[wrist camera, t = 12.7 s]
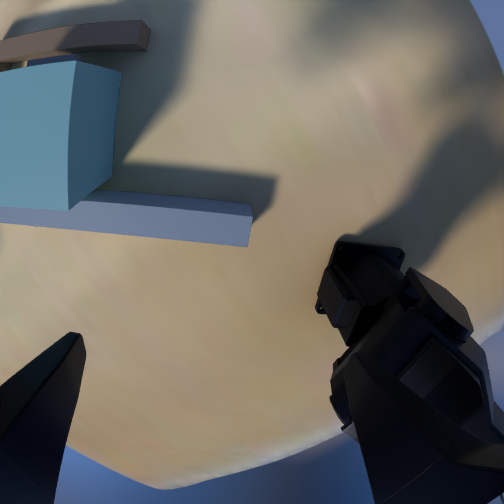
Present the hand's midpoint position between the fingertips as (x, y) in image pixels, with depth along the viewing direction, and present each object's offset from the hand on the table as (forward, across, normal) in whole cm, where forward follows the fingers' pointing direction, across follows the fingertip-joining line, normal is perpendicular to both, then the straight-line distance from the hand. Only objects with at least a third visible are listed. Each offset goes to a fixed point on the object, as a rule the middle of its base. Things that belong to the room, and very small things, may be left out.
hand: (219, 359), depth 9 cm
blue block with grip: (+13, +10, -6) cm, 17 cm away
